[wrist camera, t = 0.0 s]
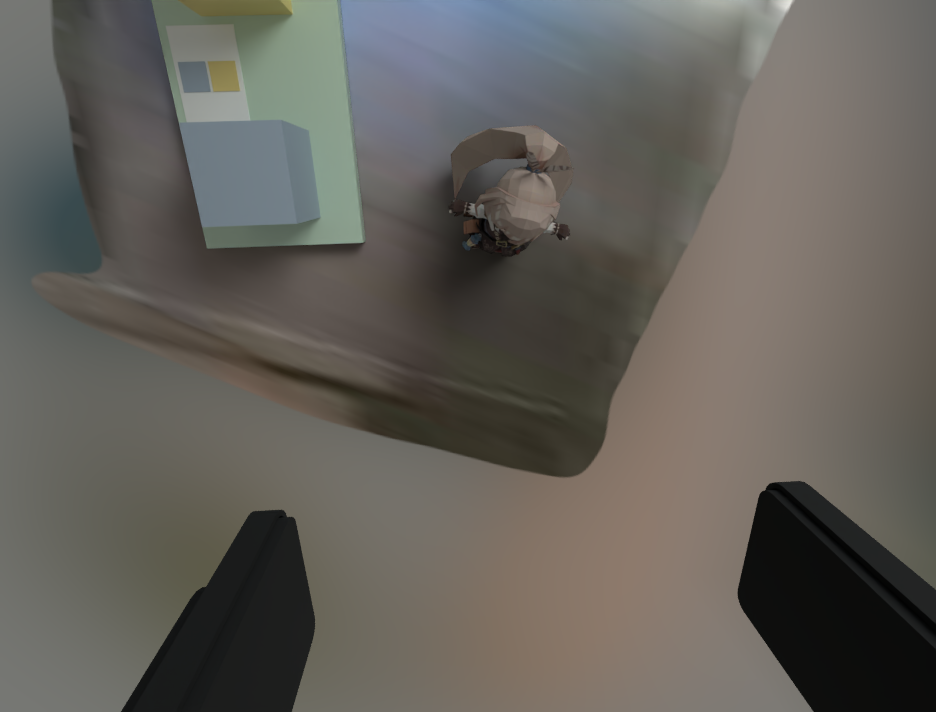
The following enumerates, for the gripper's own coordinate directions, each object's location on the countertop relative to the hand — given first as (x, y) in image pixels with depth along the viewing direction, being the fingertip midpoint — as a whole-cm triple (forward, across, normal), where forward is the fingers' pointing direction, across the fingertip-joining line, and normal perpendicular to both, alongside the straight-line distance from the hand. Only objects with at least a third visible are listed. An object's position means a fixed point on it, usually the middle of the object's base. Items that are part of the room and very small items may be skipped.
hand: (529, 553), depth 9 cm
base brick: (+30, +14, -8) cm, 34 cm away
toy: (+32, -3, -6) cm, 32 cm away
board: (+31, +14, -14) cm, 37 cm away
